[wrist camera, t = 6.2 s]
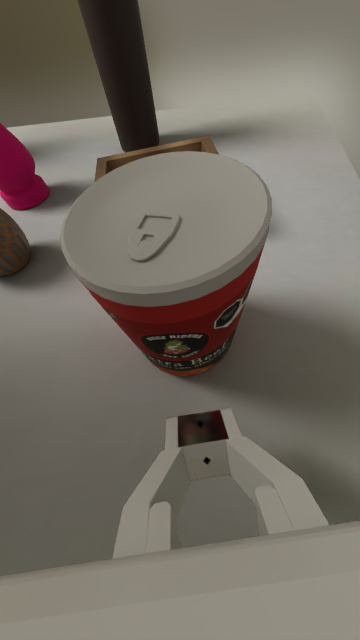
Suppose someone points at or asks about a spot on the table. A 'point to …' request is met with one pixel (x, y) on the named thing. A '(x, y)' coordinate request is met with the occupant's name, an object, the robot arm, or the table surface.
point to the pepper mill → (19, 174)
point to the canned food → (171, 252)
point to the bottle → (123, 69)
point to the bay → (153, 153)
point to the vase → (12, 245)
